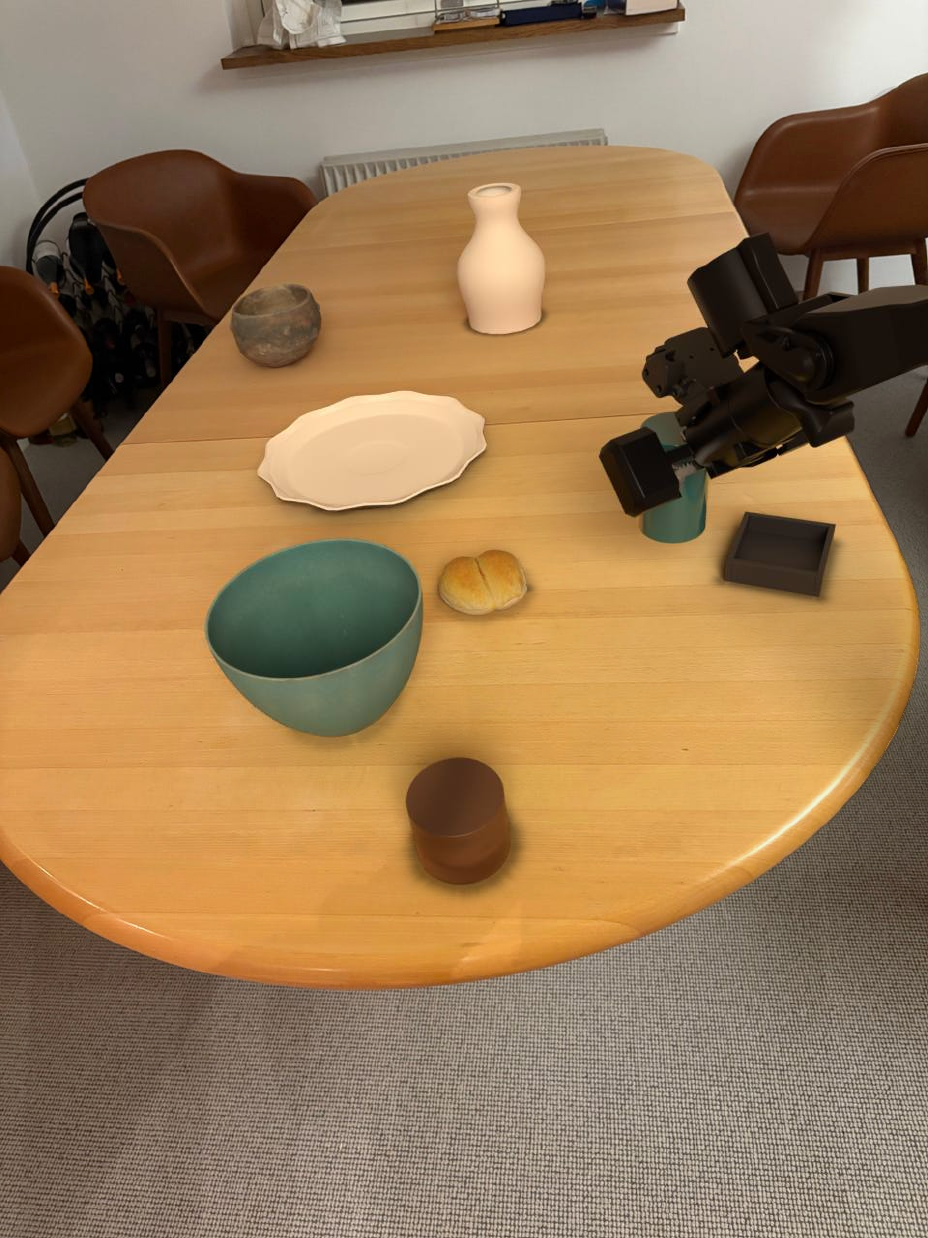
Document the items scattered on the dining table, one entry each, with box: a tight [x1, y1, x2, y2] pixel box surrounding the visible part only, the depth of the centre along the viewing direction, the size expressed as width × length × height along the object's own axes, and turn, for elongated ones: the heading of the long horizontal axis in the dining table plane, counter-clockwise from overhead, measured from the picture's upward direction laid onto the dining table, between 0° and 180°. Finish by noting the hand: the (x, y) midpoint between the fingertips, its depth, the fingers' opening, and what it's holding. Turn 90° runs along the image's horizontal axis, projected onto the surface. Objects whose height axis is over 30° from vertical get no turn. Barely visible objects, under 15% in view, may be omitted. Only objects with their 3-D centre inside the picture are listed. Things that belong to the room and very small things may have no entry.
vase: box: [456, 182, 547, 335], centre depth 139 cm, size 14×14×20 cm
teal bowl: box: [204, 537, 424, 738], centre depth 77 cm, size 18×18×12 cm
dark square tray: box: [723, 511, 837, 598], centre depth 88 cm, size 9×9×2 cm
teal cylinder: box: [638, 410, 710, 545], centre depth 78 cm, size 6×6×10 cm
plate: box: [256, 390, 488, 512], centre depth 114 cm, size 29×29×2 cm
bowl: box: [229, 283, 322, 368], centre depth 140 cm, size 14×15×10 cm
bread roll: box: [437, 549, 528, 616], centre depth 90 cm, size 8×9×4 cm
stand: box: [405, 757, 512, 886], centre depth 66 cm, size 7×7×6 cm
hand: (664, 475), depth 79 cm, fingers closed on teal cylinder, 6 cm apart
